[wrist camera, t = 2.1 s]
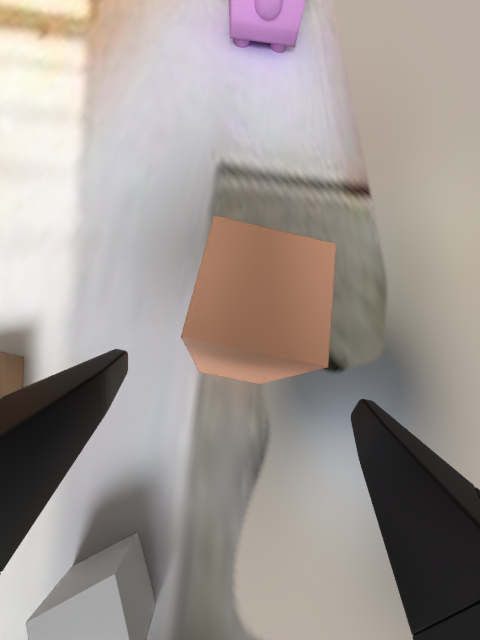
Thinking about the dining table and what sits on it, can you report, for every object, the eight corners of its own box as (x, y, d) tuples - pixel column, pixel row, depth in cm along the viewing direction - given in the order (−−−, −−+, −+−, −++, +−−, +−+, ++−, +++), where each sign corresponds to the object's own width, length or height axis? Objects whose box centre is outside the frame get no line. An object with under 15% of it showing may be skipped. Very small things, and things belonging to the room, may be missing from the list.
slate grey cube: (156, 602, 15) (136, 674, 11) (87, 643, 14) (41, 736, 10) (138, 531, 16) (114, 573, 12) (73, 564, 15) (25, 622, 11)
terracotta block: (259, 383, 19) (328, 367, 8) (199, 371, 19) (181, 336, 8) (268, 326, 21) (335, 243, 10) (212, 314, 21) (214, 215, 9)
